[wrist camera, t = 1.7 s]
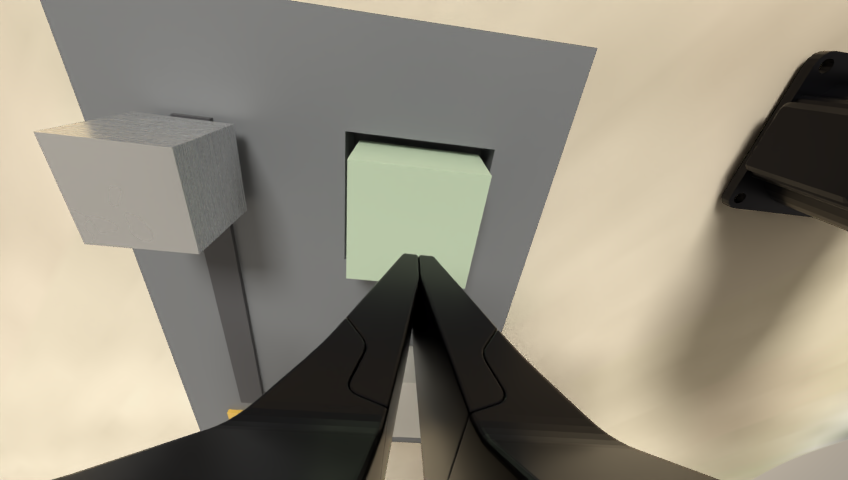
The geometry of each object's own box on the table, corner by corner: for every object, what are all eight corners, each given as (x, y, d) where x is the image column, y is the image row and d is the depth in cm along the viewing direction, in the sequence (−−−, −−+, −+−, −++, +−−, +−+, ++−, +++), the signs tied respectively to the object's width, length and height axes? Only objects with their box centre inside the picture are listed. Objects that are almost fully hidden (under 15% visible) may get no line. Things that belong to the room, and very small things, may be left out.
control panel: (559, 49, 12) (600, 48, 10) (458, 401, 23) (463, 448, 20) (116, -19, 11) (16, -43, 8) (226, 387, 22) (199, 436, 19)
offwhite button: (438, 342, 17) (442, 384, 15) (427, 395, 19) (429, 438, 17) (354, 336, 17) (345, 378, 14) (352, 390, 19) (344, 434, 17)
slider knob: (233, 124, 10) (172, 147, 8) (247, 210, 12) (199, 254, 9) (132, 111, 10) (33, 132, 7) (159, 201, 11) (84, 243, 9)
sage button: (478, 154, 12) (491, 176, 10) (457, 253, 14) (465, 288, 12) (359, 139, 12) (347, 159, 10) (356, 243, 14) (346, 278, 12)
